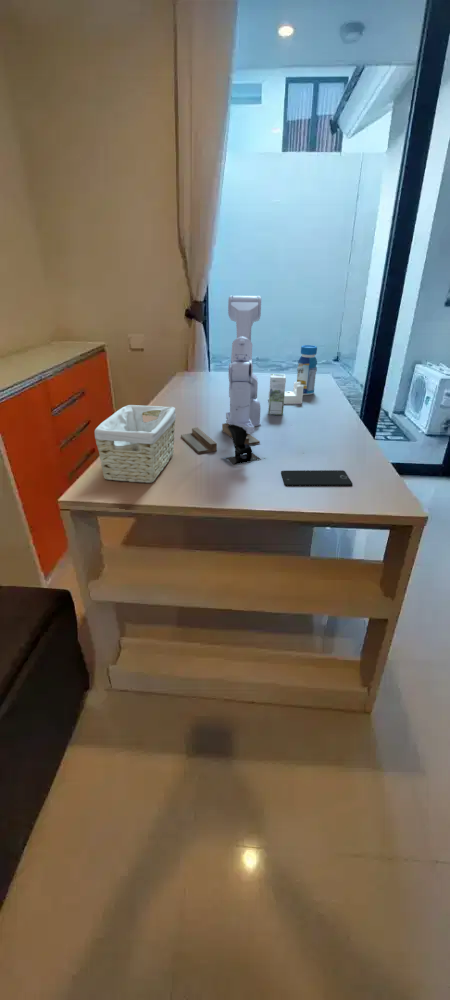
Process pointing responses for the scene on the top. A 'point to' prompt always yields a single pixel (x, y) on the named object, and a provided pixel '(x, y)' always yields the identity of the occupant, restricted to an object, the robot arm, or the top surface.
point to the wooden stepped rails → (210, 440)
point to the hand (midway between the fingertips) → (238, 448)
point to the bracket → (294, 394)
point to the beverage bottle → (307, 368)
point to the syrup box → (276, 394)
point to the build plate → (242, 458)
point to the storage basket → (136, 443)
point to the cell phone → (316, 478)
